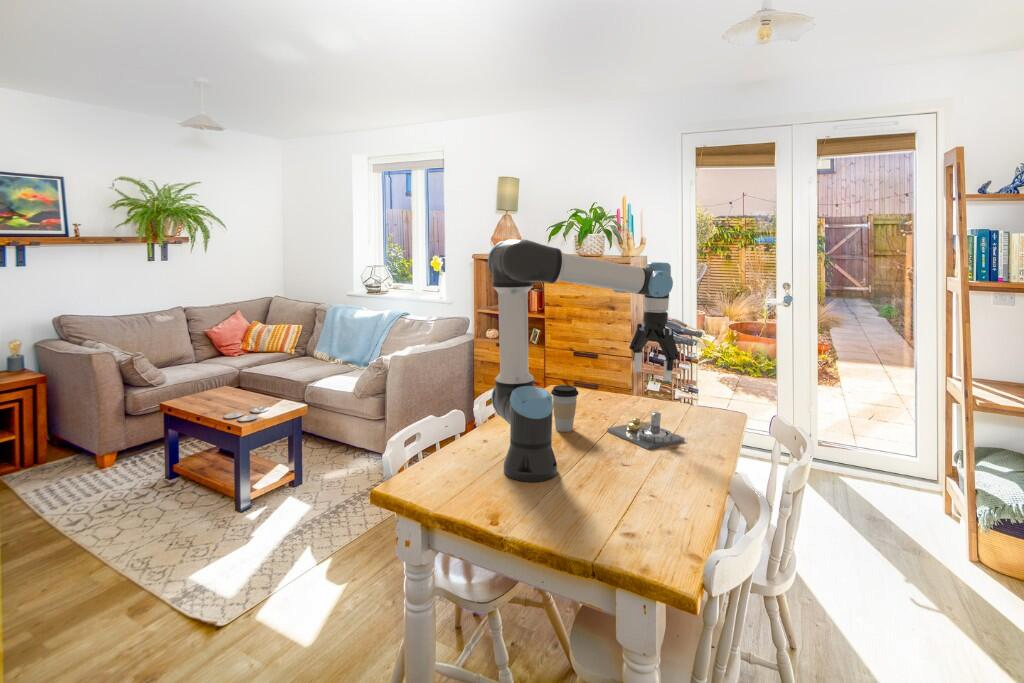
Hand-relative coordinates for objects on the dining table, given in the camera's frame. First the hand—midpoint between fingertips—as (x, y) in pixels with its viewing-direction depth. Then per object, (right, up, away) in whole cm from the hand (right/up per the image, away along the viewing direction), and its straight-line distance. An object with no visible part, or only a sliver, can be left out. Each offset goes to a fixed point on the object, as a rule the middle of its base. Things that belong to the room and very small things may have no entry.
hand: (651, 376), depth 184 cm
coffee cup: (-27, -20, +13) cm, 36 cm away
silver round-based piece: (+2, -20, +3) cm, 21 cm away
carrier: (-1, -21, +7) cm, 22 cm away
